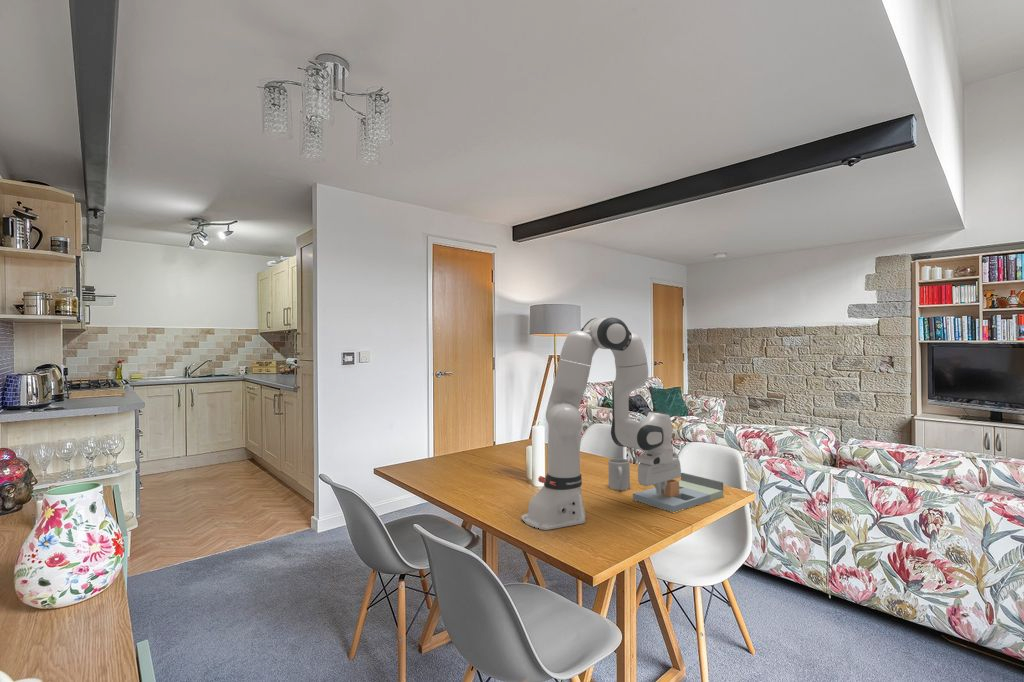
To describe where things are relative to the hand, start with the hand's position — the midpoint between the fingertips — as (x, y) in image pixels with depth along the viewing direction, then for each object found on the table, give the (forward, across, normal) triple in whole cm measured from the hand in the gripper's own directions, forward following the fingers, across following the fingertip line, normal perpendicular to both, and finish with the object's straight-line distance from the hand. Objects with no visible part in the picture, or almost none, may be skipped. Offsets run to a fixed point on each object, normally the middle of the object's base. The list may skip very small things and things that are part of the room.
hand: (660, 493), depth 174 cm
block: (+1, -5, 0) cm, 5 cm away
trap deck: (+4, -10, 0) cm, 11 cm away
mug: (+4, -2, -22) cm, 23 cm away
